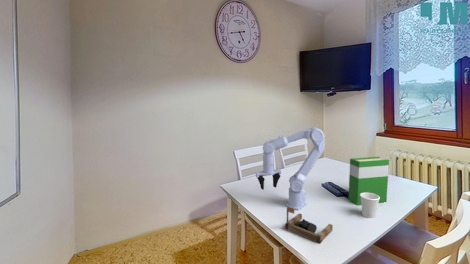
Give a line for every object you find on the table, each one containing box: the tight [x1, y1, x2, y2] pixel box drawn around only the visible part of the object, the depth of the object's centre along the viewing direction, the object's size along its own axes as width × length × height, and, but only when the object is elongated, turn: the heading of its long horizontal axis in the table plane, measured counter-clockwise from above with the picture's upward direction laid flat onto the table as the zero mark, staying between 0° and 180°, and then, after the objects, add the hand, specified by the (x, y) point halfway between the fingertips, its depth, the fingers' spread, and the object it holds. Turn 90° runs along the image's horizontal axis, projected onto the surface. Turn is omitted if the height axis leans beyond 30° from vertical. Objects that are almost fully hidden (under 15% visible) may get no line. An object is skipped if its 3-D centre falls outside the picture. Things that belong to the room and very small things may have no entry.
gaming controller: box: [294, 218, 318, 234], centre depth 101 cm, size 10×5×6 cm
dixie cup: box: [360, 193, 380, 219], centre depth 112 cm, size 8×8×10 cm
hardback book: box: [348, 156, 390, 207], centre depth 126 cm, size 18×7×24 cm, turn 99°
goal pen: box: [284, 206, 334, 244], centre depth 100 cm, size 12×16×10 cm
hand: (268, 187), depth 126 cm, fingers open, 7 cm apart
